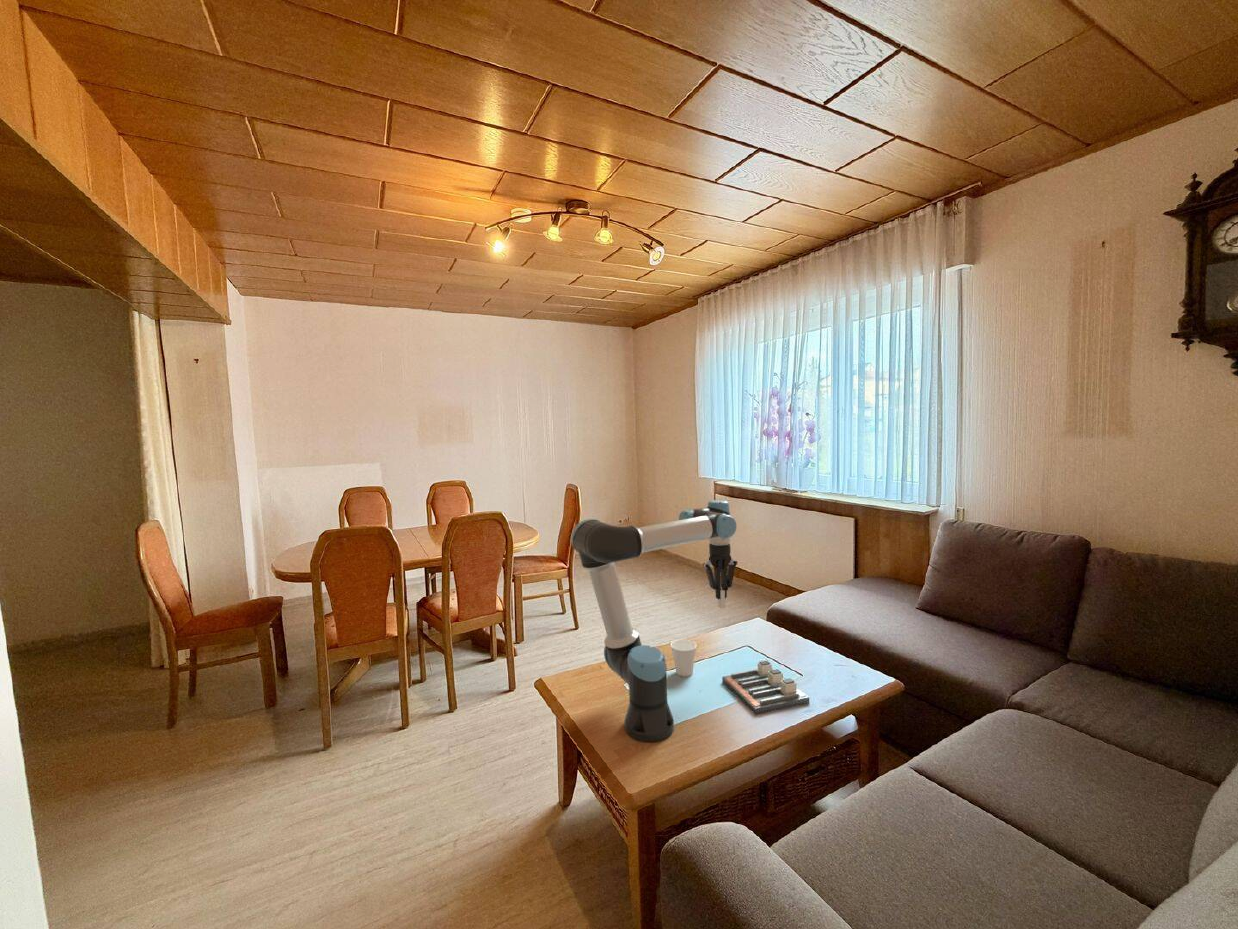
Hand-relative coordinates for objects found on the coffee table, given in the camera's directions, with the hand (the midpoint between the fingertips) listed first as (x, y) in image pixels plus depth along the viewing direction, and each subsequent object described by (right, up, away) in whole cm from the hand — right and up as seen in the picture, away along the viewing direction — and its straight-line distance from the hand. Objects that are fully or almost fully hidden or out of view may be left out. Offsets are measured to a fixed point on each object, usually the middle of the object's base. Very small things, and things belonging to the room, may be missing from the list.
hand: (721, 607), depth 177 cm
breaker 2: (+17, -24, -9) cm, 31 cm away
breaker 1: (+15, -24, -2) cm, 28 cm away
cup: (-13, -27, +6) cm, 30 cm away
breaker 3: (+19, -24, -15) cm, 35 cm away
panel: (+12, -27, -10) cm, 31 cm away
